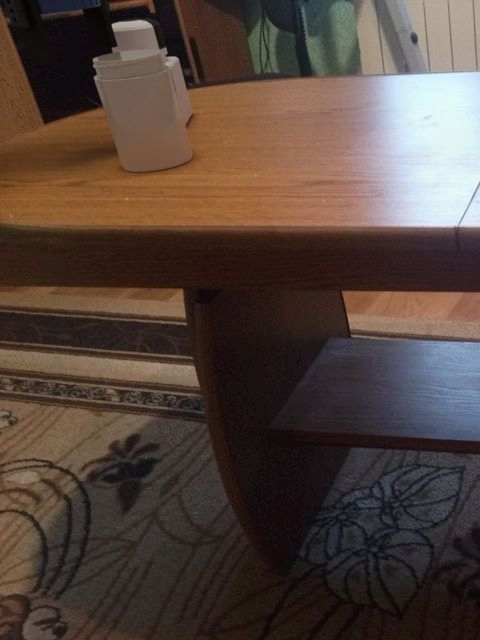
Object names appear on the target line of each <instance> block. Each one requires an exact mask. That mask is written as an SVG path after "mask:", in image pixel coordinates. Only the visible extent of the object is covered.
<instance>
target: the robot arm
mask: <svg viewBox="0 0 480 640" xmlns="http://www.w3.org/2000/svg"><path fill="white" fill-rule="evenodd" d="M2 1H3V5H4V8H5V10H6V13H7V16H8V18H9V21H10V24H11V25H12V27H13V28H14V29H15V30H19V33H20V35H21V38H22V41H23V43H24V47H25V50H26V52H27V55H28V58H29V61H30V63H31V64H55V63H57V62H58V61H57V58H56V55H55V52H54V49H53V46H52V43H51V41H50V37H49V34H48V32H47V29H46V26H45V23H44V20H43V17H42V14H40V11H39V8H38V5H37V3H36V0H2ZM110 12H111V7H110V2H109V1H108V0H101V5H100V6H97V7H93V8H88V9H83V10H82V13H83V17H84V20H85V23H86V26H87V30H88V32H89V36H90V38H91V43H92V45H93V48H94V49H111V48H114V47H118V45H117V41H116V38H115V35H114V32H113V28H112V25H111V24H112V22H111V19H110V15H109V13H110Z"/></svg>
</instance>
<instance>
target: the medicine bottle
mask: <svg viewBox="0 0 480 640" xmlns="http://www.w3.org/2000/svg"><path fill="white" fill-rule="evenodd" d="M111 25H112V28H113V32H114V35H115V38H116V41H117V45H118V47H114V48H110V49H111V53H116V52H122V51H129V50H140V49H157V50H161V51H162V55H163V59H164V63H165V65H166V66H169V67H170V69H171V73H172V77H173V80H174V84H175V88H176V92H177V95H178V99H179V103H180V107H181V111H182V114H183V118H184V122H185V126H187V124H188V123H189V121H190V119H191V116H192V115H193V108H192V104H191V101H190V97H189V92H188V90H187V85H186V81H185V78H184V73H183V70H182V65H181V62H180V59H179V57H177V56H167V55H168V50H167V45H166V42H165V38H164V34H163V30H162V26H161V24H160V23H159V21H157V20H155V19H152V18H149V17H148V18H129V19H124V20H119V21H113V22H111Z"/></svg>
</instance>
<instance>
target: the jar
mask: <svg viewBox="0 0 480 640" xmlns="http://www.w3.org/2000/svg"><path fill="white" fill-rule="evenodd" d="M92 62H93V65H92V67H93V68H94V69H95V72H96V75H94V76H93V80H94V83H95V87H96V90H97V93H98V97H99V99H100V101H101V104H102V109H103V111H104V114H105V119H106V121H107V124H108V128H109V130H110V133H111V136H112V140H113V142H114V146H115V149H116V153H117V156H118V158H119V162H120V164H121V168H122V169H123V170H124V171H127V172H131V173H147V172H148V173H149V172H157V171H163V170H168V169H171V168H175V167H178V166H181V165H184V164H186V163H188V162H190V161H192V159H193V158H194V152H193V148H192V145H191V141H190V138H189V134H188V129H187V125H185V122H184V118H183V114H182V111H181V107H180V103H179V99H178V95H177V92H176V88H175V84H174V80H173V77H172V73H171V69H170V67H169V66H166V65H165V63H164V59H163V55H162V51H161V50H157V49H140V50H129V51H122V52H116V53H112V52H110V53H106V54H102V55H99V56H95V57H94V58H92Z"/></svg>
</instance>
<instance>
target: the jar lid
mask: <svg viewBox="0 0 480 640" xmlns="http://www.w3.org/2000/svg"><path fill="white" fill-rule="evenodd" d="M36 3H37V5H38V8H39V11H40V14H41V15H47V14H49V15H50V14H59V13H60V14H61V13H67V12H74V11H75V12H76V11H81V10H82V11H83V9H88V8H93V7H97V6H100V5H101V0H36Z"/></svg>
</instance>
